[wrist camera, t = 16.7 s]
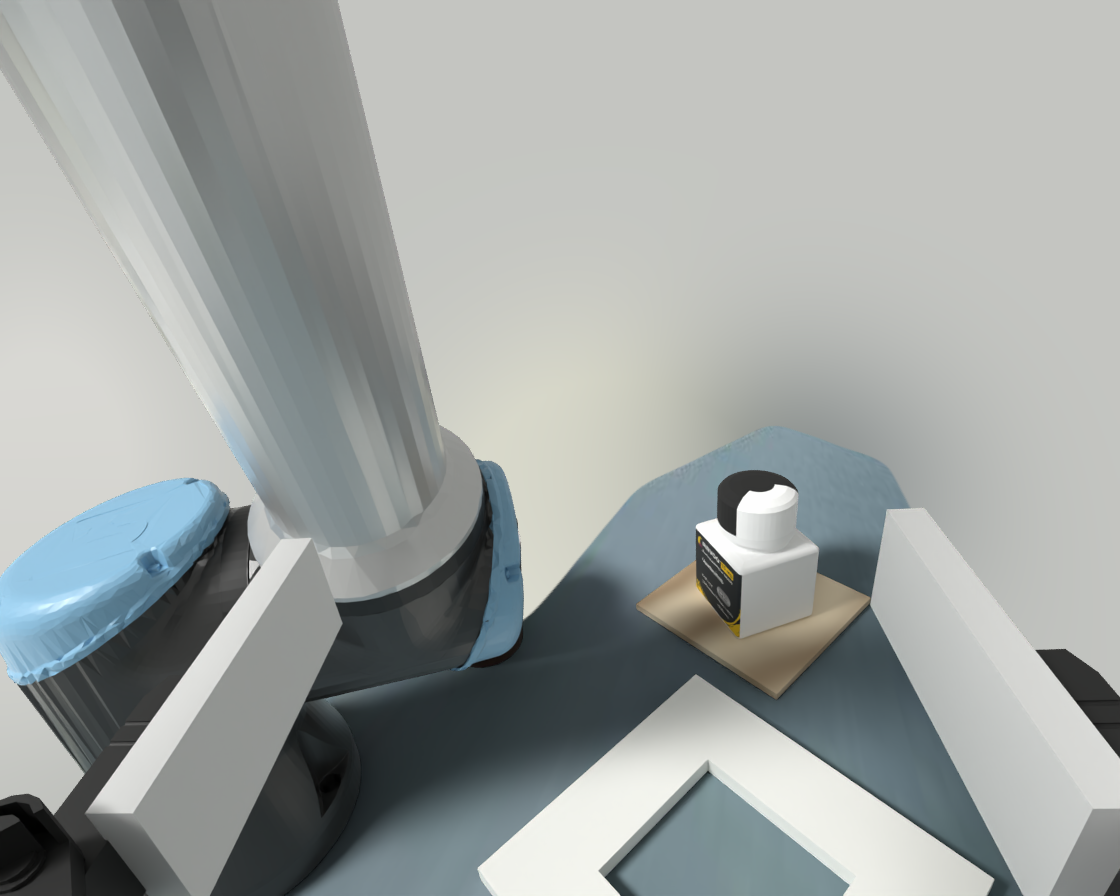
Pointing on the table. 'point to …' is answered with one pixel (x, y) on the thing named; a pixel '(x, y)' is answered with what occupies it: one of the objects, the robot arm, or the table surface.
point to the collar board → (752, 773)
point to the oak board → (763, 655)
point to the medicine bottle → (756, 555)
